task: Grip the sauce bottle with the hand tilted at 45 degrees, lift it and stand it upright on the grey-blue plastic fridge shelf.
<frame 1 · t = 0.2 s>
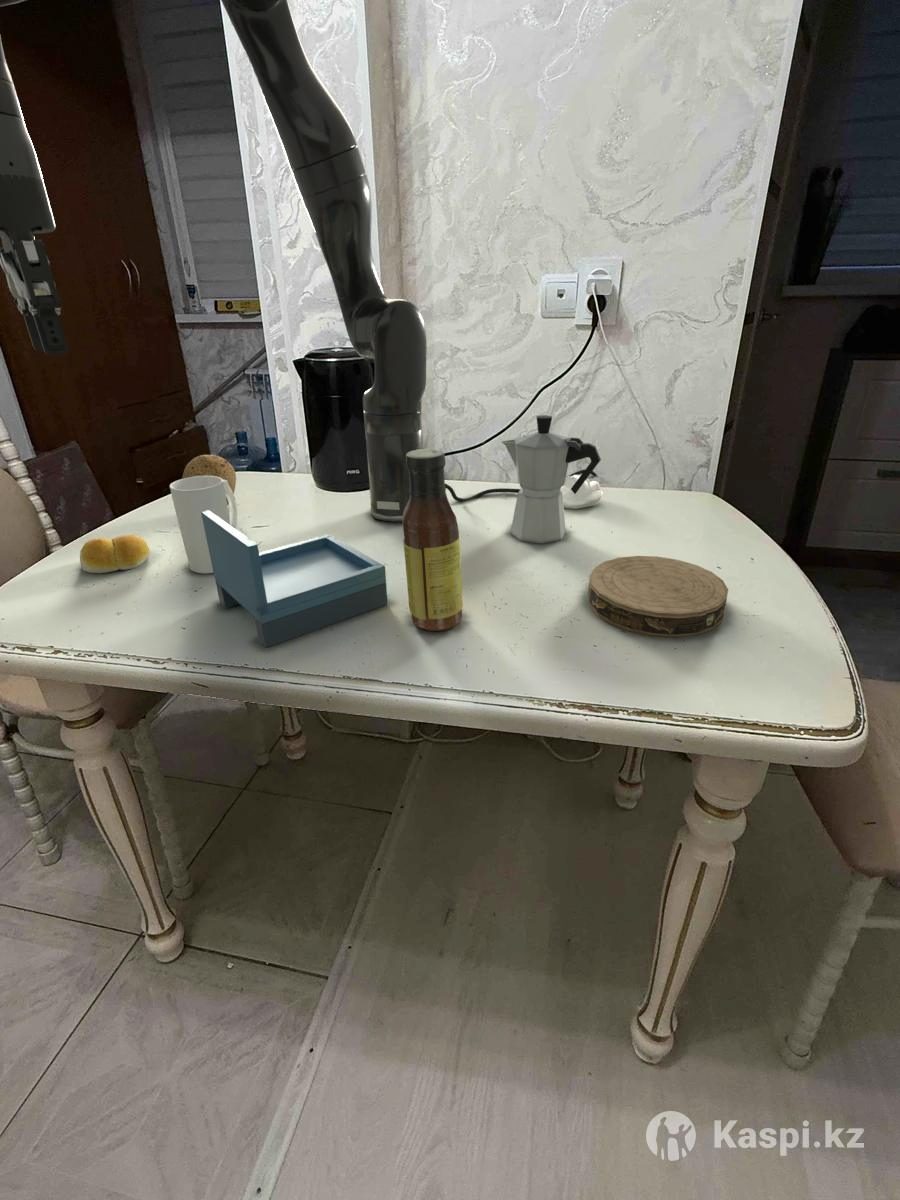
hand: (51, 352, 69), 29 cm above the table, tool pointing down, fingers open, 8 cm apart
coffee maker: (544, 535, 98), on the table
sauce bottle: (435, 621, 73), on the table
natural sponge: (214, 512, 109), on the table
wood log slice: (653, 605, 76), on the table
mug: (221, 561, 90), on the table
bread roll: (116, 564, 90), on the table
fridge shelf: (303, 603, 78), on the table
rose: (574, 501, 112), on the table
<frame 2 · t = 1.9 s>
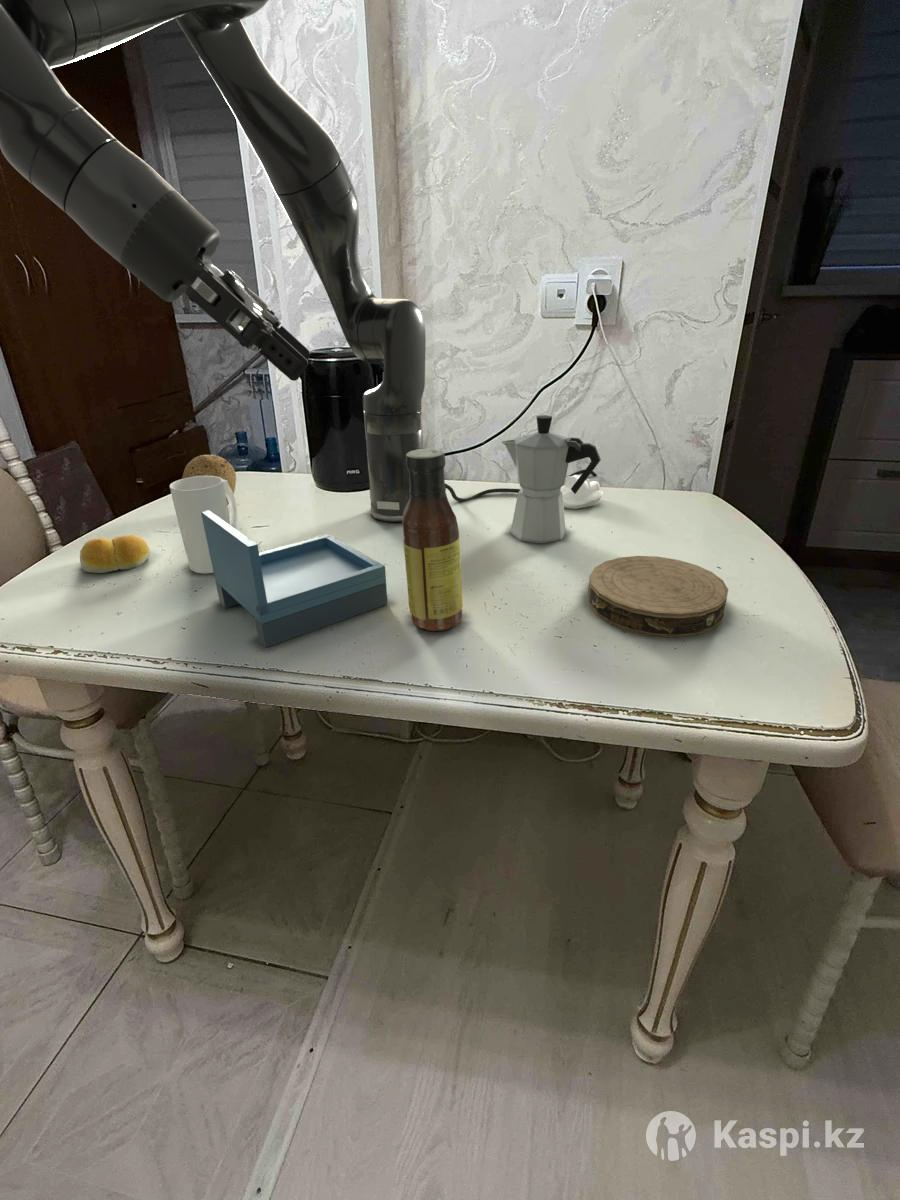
hand: (303, 367, 58), 29 cm above the table, tool tilted 45°, fingers open, 8 cm apart
nothing on the table moved.
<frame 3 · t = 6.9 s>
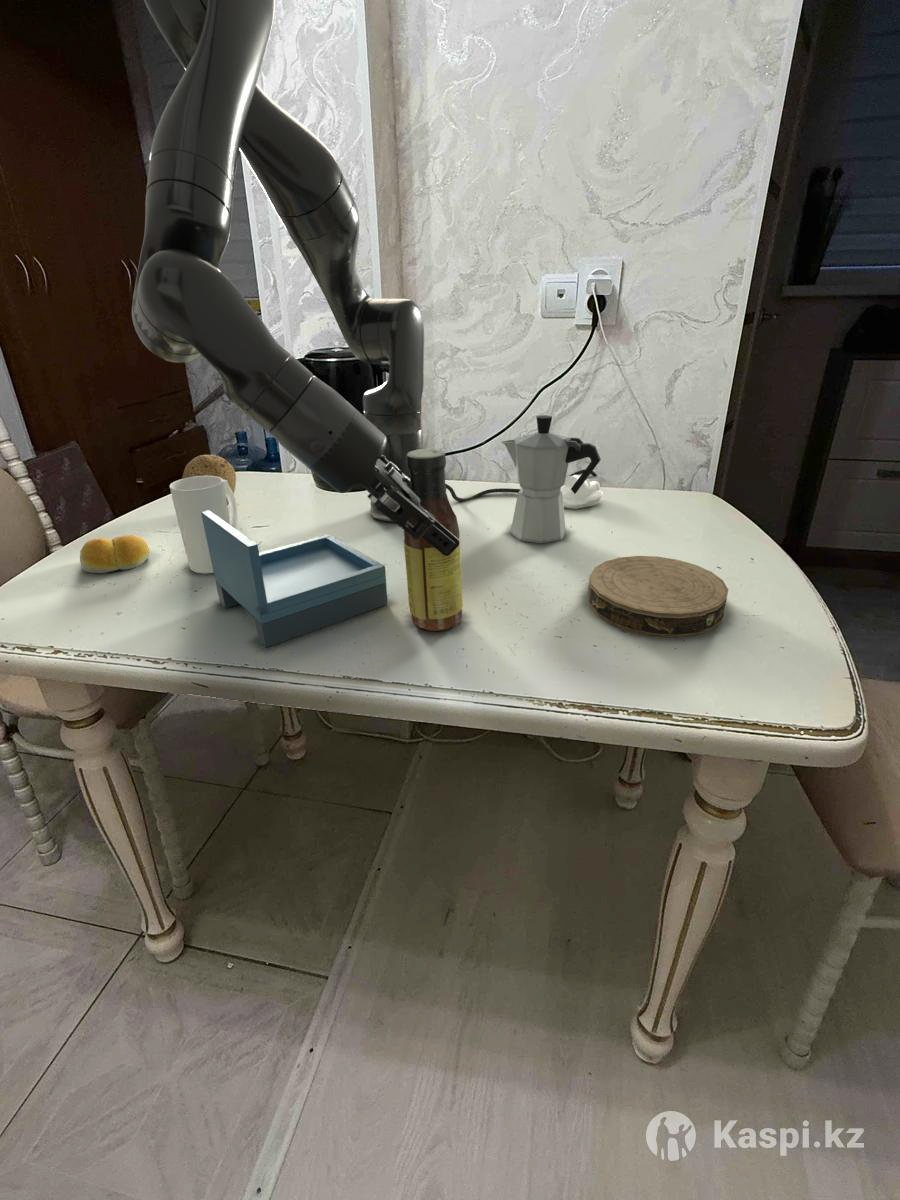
hand: (447, 537, 69), 10 cm above the table, tool tilted 45°, fingers closed on sauce bottle, 6 cm apart
sauce bottle: (435, 621, 73), on the table, touching gripper
everything else where it was.
when the fingers open (14 cm above the table, at t = 15.4 s): sauce bottle stays where it is, resting on fridge shelf.
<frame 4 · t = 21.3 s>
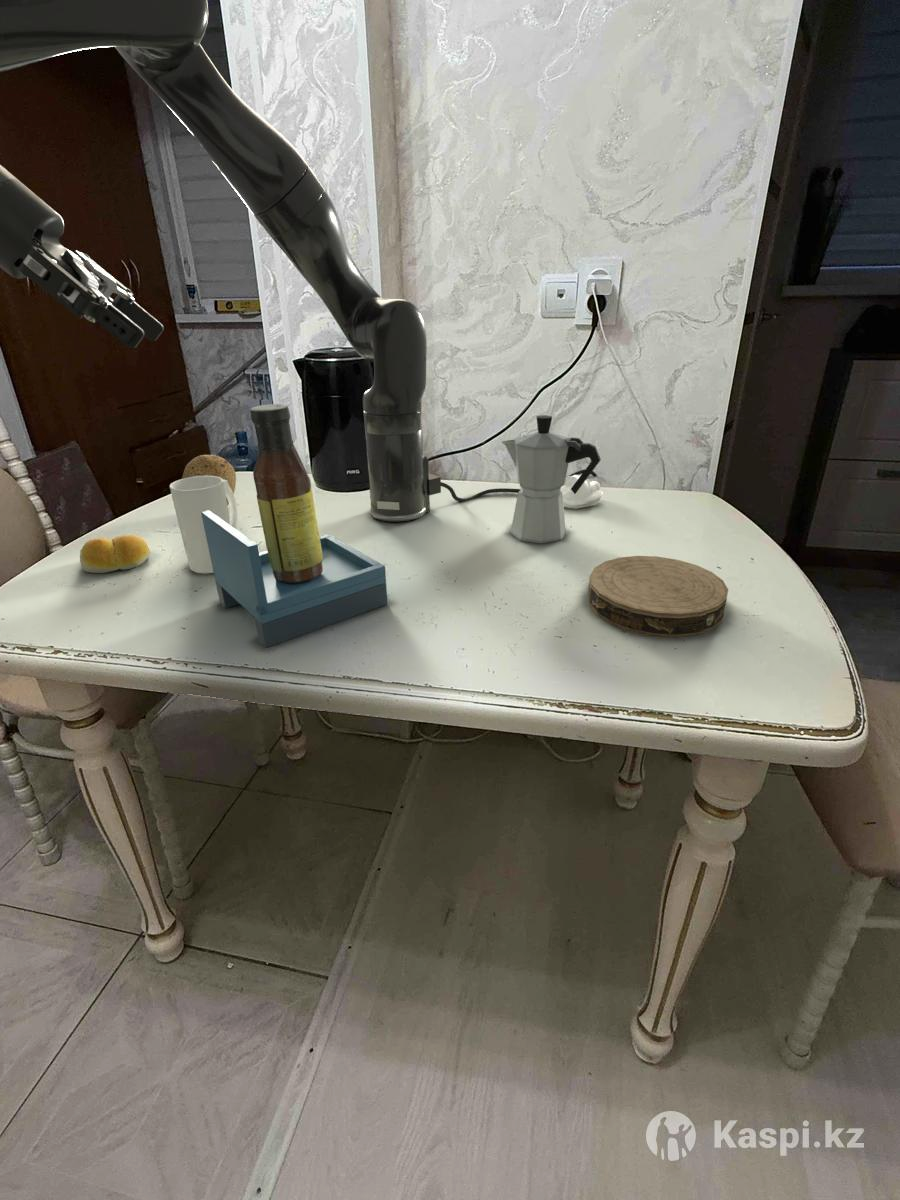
hand: (149, 338, 65), 31 cm above the table, tool tilted 45°, fingers open, 8 cm apart
sauce bottle: (297, 576, 76), point 4 cm above the table, touching fridge shelf
everything else where it was.
at the end: sauce bottle inside the target area on the fridge shelf (0.2 cm from its centre), point 3.8 cm above the fridge shelf's base; sauce bottle tilted 0°; the gripper is holding nothing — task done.
